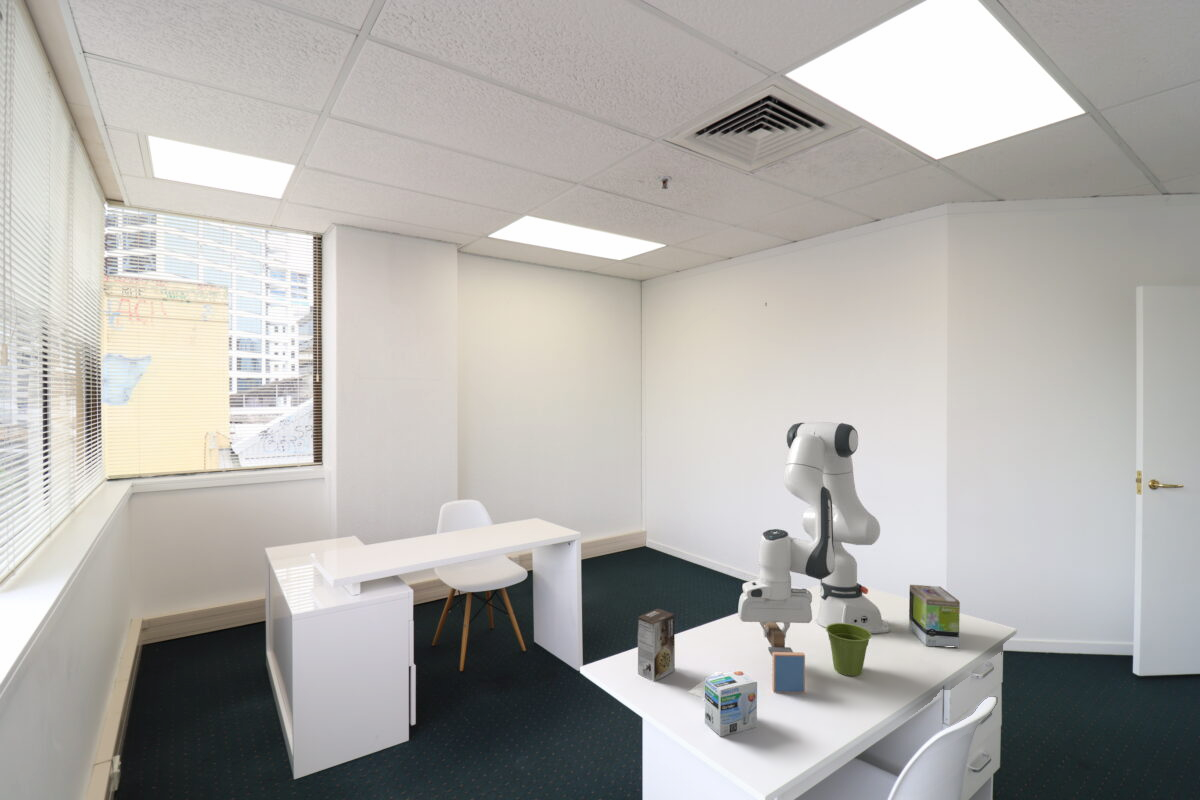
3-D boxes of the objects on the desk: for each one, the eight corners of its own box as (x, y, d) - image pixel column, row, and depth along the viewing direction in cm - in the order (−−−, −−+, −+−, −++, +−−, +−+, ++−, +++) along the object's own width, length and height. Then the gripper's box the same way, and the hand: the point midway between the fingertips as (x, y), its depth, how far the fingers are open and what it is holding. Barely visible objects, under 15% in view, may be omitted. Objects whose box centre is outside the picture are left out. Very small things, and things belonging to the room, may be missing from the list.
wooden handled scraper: (759, 635, 171) (759, 621, 171) (780, 635, 170) (780, 621, 170) (774, 661, 154) (774, 646, 154) (797, 661, 153) (797, 646, 153)
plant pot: (820, 673, 162) (820, 632, 162) (832, 657, 172) (832, 619, 172) (865, 685, 155) (865, 643, 155) (875, 669, 165) (875, 629, 165)
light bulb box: (720, 737, 132) (720, 690, 132) (703, 722, 138) (703, 677, 138) (758, 727, 136) (758, 681, 136) (740, 712, 142) (740, 668, 142)
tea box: (960, 649, 178) (960, 600, 178) (925, 646, 180) (925, 598, 180) (940, 629, 193) (940, 585, 193) (907, 627, 195) (908, 583, 194)
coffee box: (657, 663, 168) (657, 607, 168) (675, 671, 163) (675, 613, 163) (636, 674, 162) (636, 616, 162) (654, 682, 157) (654, 622, 157)
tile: (803, 690, 153) (803, 652, 153) (805, 693, 151) (805, 655, 151) (772, 689, 153) (772, 651, 153) (774, 693, 152) (774, 654, 151)
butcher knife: (733, 680, 159) (733, 676, 159) (704, 701, 148) (704, 697, 148) (717, 673, 163) (717, 669, 163) (687, 694, 151) (687, 690, 151)
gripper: (808, 585, 168) (808, 633, 168) (737, 584, 169) (736, 631, 169) (815, 592, 162) (815, 642, 162) (741, 591, 163) (741, 640, 163)
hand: (774, 636), depth 166 cm, fingers closed on wooden handled scraper, 3 cm apart
